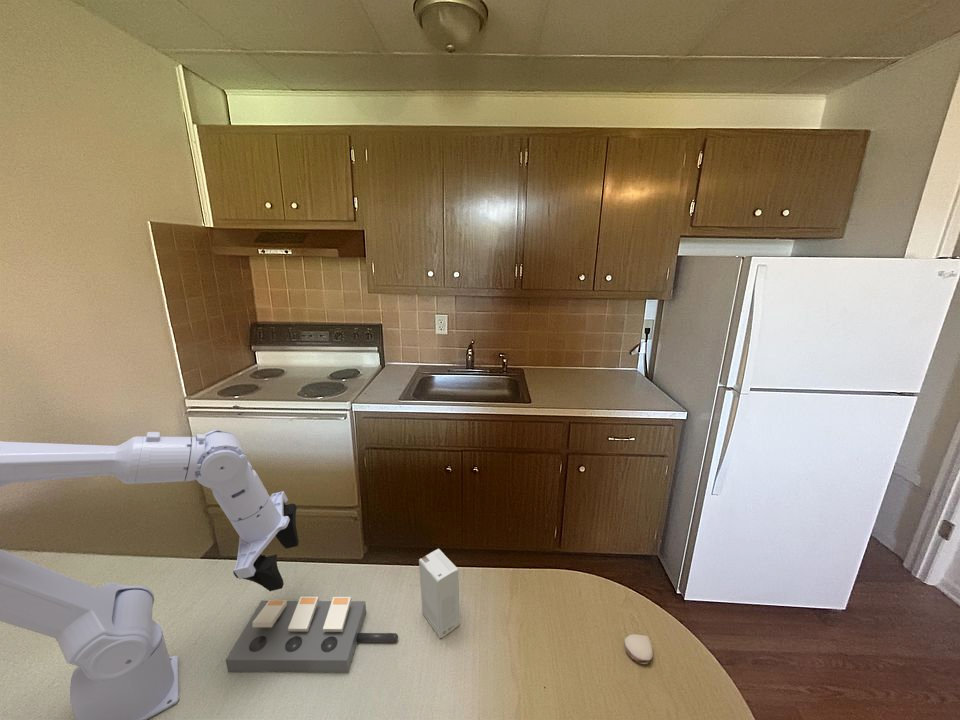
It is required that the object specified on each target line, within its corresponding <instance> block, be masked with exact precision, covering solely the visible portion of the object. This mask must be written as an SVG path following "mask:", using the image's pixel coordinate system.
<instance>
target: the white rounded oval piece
mask: <svg viewBox="0 0 960 720" xmlns="http://www.w3.org/2000/svg"><path fill="white" fill-rule="evenodd" d="M623 645H624V650H625V652H626V653H627V655H628V656H629V657H630V658H631V659H632V660H634V661H635V662H637V663H639V664H643V665H646V664H648V663H650V662H651V661H652V659H653V657H654V655H653V646H652V643H651V640H650V637H649V636H648V635H642V634H637V633H636V634H635V633H633V634H629V635H627V636H626V637H625V638H624V642H623Z"/></svg>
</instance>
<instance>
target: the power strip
mask: <svg viewBox="0 0 960 720" xmlns="http://www.w3.org/2000/svg"><path fill="white" fill-rule="evenodd" d="M268 601H269V600H265V599H263V600H260V602H259V603H258V605H257V607H256V609H255V610H254V611H253V614H252V615H251V617H250V619H249V620H248V622H247V623H246V625H245V626H244V629H243V630H242V632H241V633H240V635H239V637H238V638H237V640H236V642H235V643H234V645H233V647H232V648H231V650H230V652H229V653H228V655H227V656H226V658H225V662H226V667H227V672H228V673H335V674H336V673H338V674H339V673H340V674H342V673H346V674H347V673H349V672H350V668H351V664H352V661H353V657H354V655H355V651H356V648H357V645H358V643H396V642H397V641H398V639H399V635H398V633H396V632H395V633H394V632H361V631H362V628H363V624H364V621H365V618H366V614H367V606H366V600H365V601H363V600H362V601H361V600H357V601H356V600H351V603H350V607H349V610H348V614H347V618H346V621H345V625H344V628H343V632H324V631H323V627H324V624H325V620H326V617H327V614H328V611H329V608H330V605H331V602H332V600H319V601H318V604H317V607H316V610H315V613H314V616H313V618H312V621H311V624H310V627H309V630H308V632H297V631H289V630H288V627H289V624H290V622H291V619H292V617H293V614H294V612H295V609H296V607H297V604H298V602H299V600H287V606H286V607H285V609H284V610H283V611H282V613H281V614H280V616H279V617H278V619H277V620H276V622H275V623H274V625H273V626H272V627H253V626H252V622H253V621H254V620H255V618H256V617H257V616H258V614H259V613H260V612H261V610H262V609H263V608H264V606H265V605H266V604H267V603H268Z"/></svg>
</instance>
